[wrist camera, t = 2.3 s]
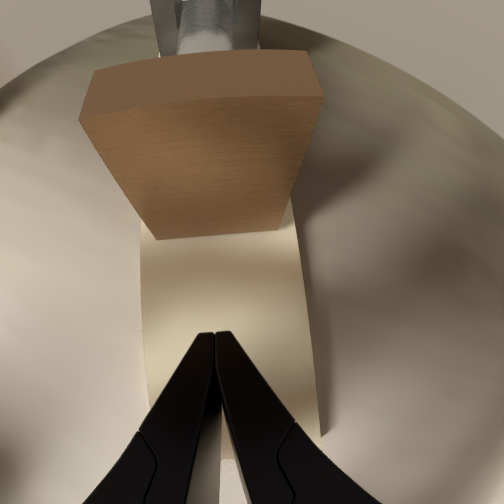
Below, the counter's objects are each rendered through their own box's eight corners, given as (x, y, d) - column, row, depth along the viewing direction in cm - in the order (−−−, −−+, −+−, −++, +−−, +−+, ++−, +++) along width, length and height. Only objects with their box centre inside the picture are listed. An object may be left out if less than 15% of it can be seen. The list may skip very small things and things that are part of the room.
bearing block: (256, 60, 20) (265, -44, 11) (162, 67, 19) (143, -34, 11) (249, 29, 21) (255, -59, 13) (168, 35, 21) (155, -52, 12)
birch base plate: (316, 440, 13) (321, 446, 13) (162, 453, 13) (158, 459, 12) (254, 35, 22) (254, 26, 21) (164, 41, 22) (163, 33, 21)
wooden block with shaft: (278, 230, 15) (324, 96, 7) (156, 240, 15) (78, 120, 6) (252, 70, 19) (261, -43, 10) (166, 78, 18) (145, -33, 10)
